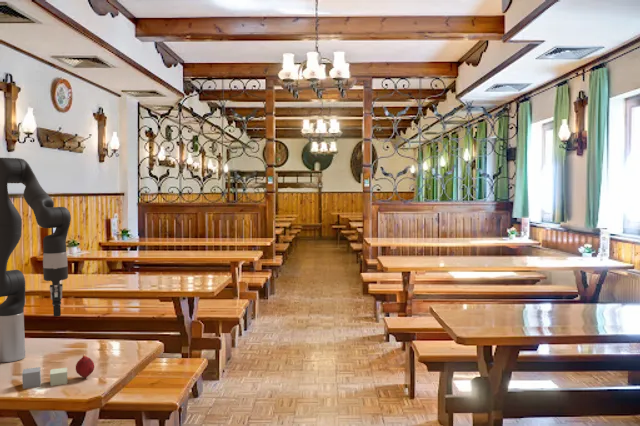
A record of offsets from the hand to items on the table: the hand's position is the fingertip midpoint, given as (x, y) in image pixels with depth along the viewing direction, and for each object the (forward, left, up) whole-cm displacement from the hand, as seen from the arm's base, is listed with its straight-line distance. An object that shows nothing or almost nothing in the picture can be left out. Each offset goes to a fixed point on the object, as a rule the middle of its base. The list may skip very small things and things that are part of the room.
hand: (57, 315), depth 191 cm
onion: (+10, -3, -21) cm, 23 cm away
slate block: (-4, -10, -21) cm, 23 cm away
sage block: (+3, -7, -21) cm, 22 cm away
